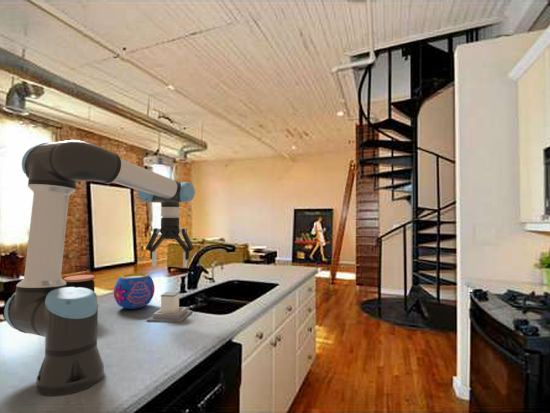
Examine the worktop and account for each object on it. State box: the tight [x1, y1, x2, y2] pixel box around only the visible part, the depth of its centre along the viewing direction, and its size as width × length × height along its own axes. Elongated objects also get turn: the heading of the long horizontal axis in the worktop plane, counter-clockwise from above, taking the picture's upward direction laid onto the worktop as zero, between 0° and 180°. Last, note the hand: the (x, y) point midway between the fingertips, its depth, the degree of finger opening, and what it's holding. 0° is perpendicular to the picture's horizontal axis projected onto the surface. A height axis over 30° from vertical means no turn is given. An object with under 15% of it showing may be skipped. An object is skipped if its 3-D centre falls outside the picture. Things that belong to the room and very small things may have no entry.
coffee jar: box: [63, 274, 95, 292], centre depth 133 cm, size 11×11×18 cm
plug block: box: [160, 291, 180, 314], centre depth 140 cm, size 6×6×9 cm
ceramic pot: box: [113, 272, 155, 310], centre depth 153 cm, size 18×18×15 cm
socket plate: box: [146, 306, 193, 324], centre depth 140 cm, size 14×14×3 cm
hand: (169, 267), depth 140 cm, fingers open, 13 cm apart
